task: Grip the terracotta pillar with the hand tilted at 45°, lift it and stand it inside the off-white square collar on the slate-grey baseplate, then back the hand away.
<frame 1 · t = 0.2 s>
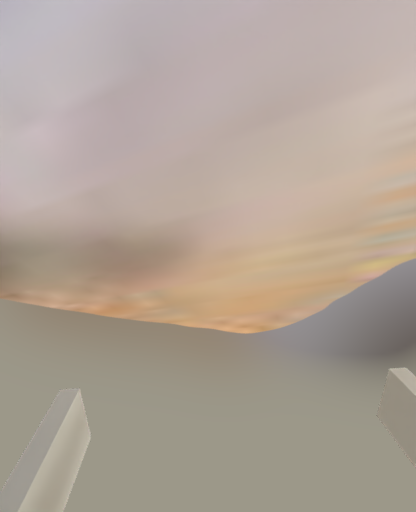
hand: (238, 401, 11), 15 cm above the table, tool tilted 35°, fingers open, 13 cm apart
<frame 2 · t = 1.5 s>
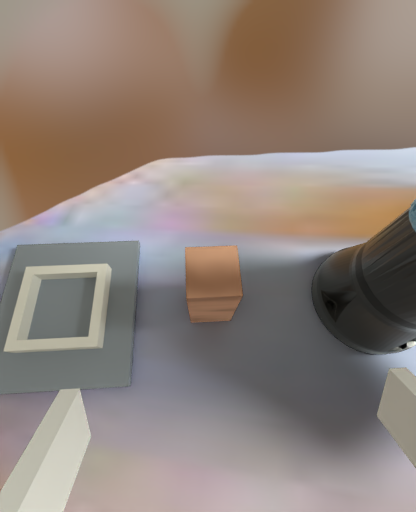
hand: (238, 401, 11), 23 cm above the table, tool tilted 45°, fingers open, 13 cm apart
pillar: (209, 302, 37), on the table
baseplate: (70, 310, 36), on the table
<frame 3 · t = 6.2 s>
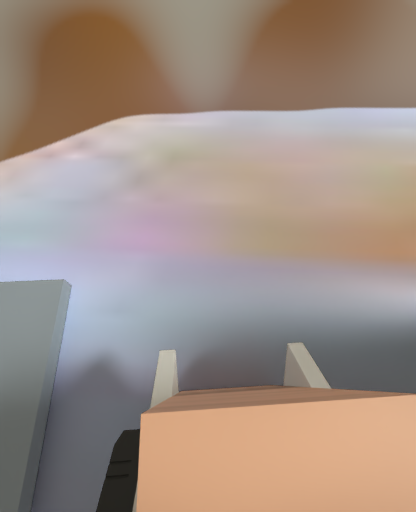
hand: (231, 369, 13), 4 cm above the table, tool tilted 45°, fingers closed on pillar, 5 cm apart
pillar: (230, 442, 15), on the table, touching gripper
when the fingers open (6 cm above the table, at t = 11.6 s): pillar stays where it is, resting on baseplate.
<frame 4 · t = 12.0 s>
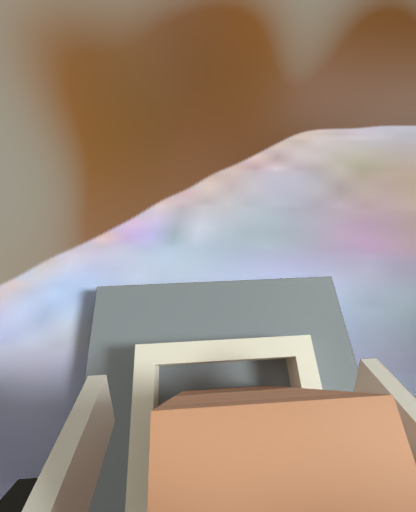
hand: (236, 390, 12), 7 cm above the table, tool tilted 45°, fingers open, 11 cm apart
pillar: (229, 439, 15), point 1 cm above the table, touching baseplate
baseplate: (227, 435, 16), on the table
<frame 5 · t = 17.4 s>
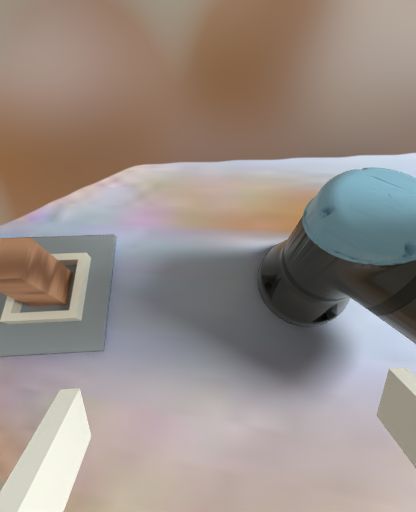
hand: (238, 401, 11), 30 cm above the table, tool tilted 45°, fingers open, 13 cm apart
pillar: (52, 289, 42), point 1 cm above the table, touching baseplate
baseplate: (56, 291, 43), on the table
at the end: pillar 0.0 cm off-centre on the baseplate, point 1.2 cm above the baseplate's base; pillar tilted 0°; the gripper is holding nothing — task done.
